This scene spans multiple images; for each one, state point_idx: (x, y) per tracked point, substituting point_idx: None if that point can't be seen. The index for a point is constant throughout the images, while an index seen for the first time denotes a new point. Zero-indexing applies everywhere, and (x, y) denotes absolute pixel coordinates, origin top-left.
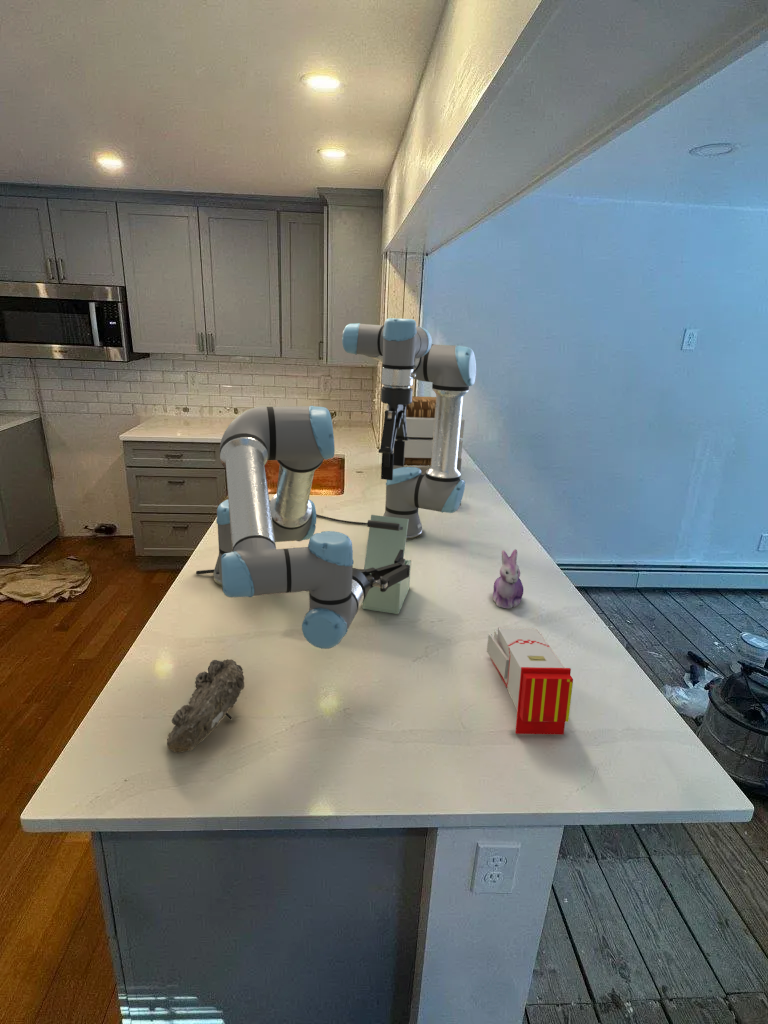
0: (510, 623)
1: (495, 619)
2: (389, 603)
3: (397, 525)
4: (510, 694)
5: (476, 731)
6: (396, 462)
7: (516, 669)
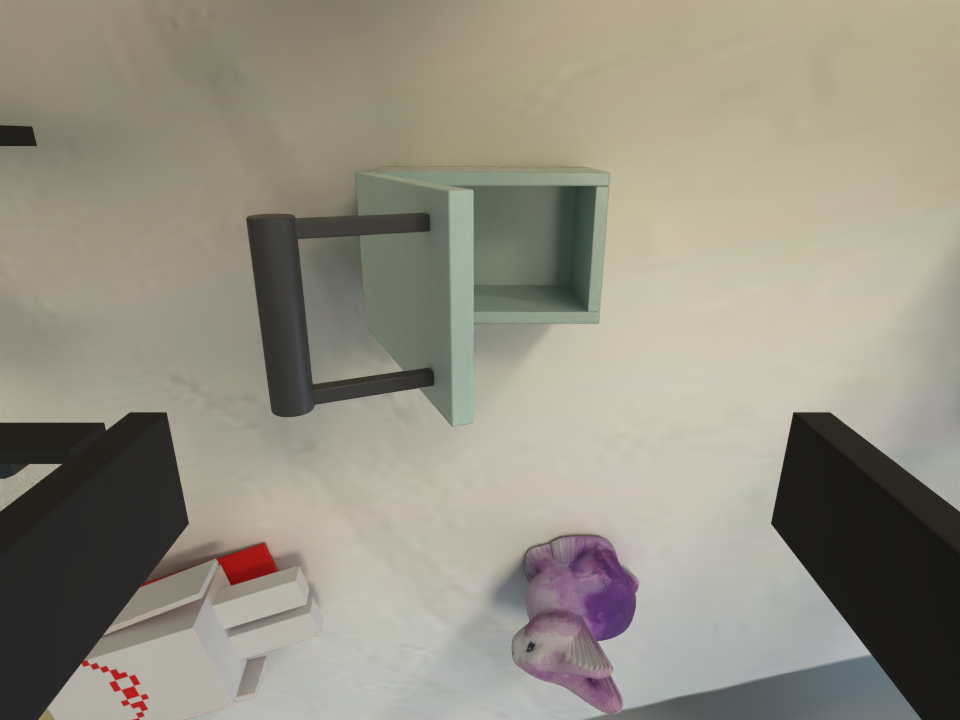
0: (450, 576)
1: (459, 544)
2: None
3: (274, 407)
4: None
5: None
6: (804, 472)
7: None
